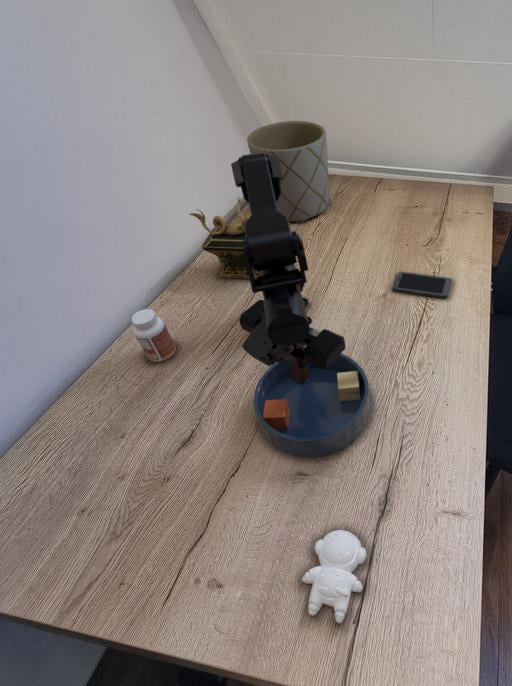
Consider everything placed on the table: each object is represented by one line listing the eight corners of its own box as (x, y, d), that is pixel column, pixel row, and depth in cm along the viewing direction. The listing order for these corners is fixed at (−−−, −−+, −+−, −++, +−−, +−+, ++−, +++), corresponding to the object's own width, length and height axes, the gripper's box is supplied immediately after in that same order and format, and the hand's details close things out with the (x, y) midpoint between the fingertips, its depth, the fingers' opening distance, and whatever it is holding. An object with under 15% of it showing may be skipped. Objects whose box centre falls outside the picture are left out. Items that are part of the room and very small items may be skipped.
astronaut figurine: (291, 609, 63) (288, 602, 61) (323, 526, 71) (321, 517, 69) (351, 631, 61) (349, 624, 59) (376, 542, 69) (375, 534, 67)
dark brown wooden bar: (291, 380, 84) (282, 338, 76) (300, 371, 85) (291, 330, 77) (302, 385, 83) (293, 344, 75) (310, 377, 84) (302, 335, 76)
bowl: (236, 423, 87) (229, 406, 83) (306, 353, 99) (303, 335, 96) (325, 479, 77) (321, 462, 74) (390, 393, 90) (390, 375, 86)
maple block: (338, 385, 91) (337, 372, 89) (358, 383, 92) (357, 370, 89) (340, 401, 88) (338, 389, 86) (360, 399, 89) (359, 386, 86)
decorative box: (281, 260, 126) (267, 194, 112) (272, 281, 119) (256, 214, 105) (213, 257, 128) (191, 193, 115) (200, 278, 121) (175, 212, 108)
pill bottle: (175, 339, 104) (158, 303, 97) (177, 358, 100) (159, 321, 92) (147, 347, 103) (127, 310, 95) (147, 366, 99) (126, 329, 91)
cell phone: (447, 298, 110) (448, 296, 110) (392, 290, 113) (392, 288, 113) (452, 280, 115) (452, 278, 115) (398, 273, 119) (398, 271, 118)
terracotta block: (269, 412, 87) (265, 400, 85) (290, 411, 87) (286, 398, 85) (266, 430, 84) (262, 418, 82) (288, 429, 84) (284, 416, 82)
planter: (304, 233, 136) (292, 156, 120) (248, 215, 145) (230, 142, 129) (347, 200, 149) (341, 127, 133) (293, 185, 159) (281, 116, 143)
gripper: (203, 308, 70) (229, 373, 80) (296, 356, 62) (310, 420, 73) (253, 270, 76) (271, 335, 87) (343, 308, 68) (350, 374, 79)
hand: (298, 365), depth 81 cm, fingers closed on dark brown wooden bar, 2 cm apart
